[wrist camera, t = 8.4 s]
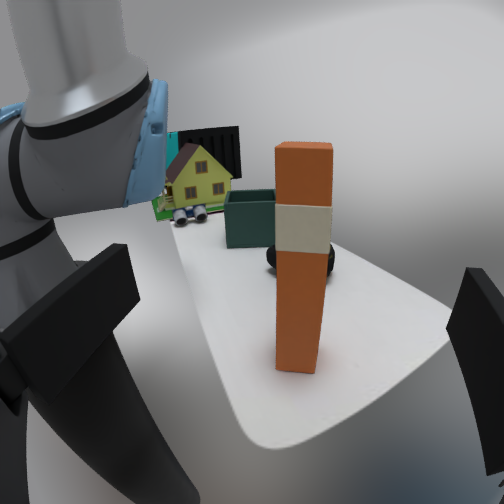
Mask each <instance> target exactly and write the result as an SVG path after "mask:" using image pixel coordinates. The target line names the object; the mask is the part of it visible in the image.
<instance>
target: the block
mask: <svg viewBox="0 0 504 504" xmlns="http://www.w3.org/2000/svg"><path fill="white" fill-rule="evenodd" d="M332 180H333V148H332V144H331V143H321V142H283V143H281V144H279V145H278V146H276V147H275V181H276V204H275V249H276V264H277V298H276V370H284V371H293V372H302V373H315V367H316V360H317V353H318V346H319V339H320V331H321V323H322V315H323V306H324V297H325V287H326V277H327V266H328V254H329V252H330V239H331V224H332Z"/></svg>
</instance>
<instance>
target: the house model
mask: <svg viewBox="0 0 504 504" xmlns="http://www.w3.org/2000/svg"><path fill="white" fill-rule="evenodd" d="M230 178H233V176H232V175H231V174H230V173H229V172H228V171H227V170H226V169H225V168H224V167H223V166H222V165H220V164H219V163H218V162H217V161H216V160H215V159H214V158H213V157H212V156H211V155H210V154H209V153H208V152H207V151H206V150H205V149H204V148H203V147H202V146H201V145H197V144H191V143H185V144H184V146H183V147H182V148H181V150H180V151H179V152H178V154H177V155H176V157H175V158H174V160H173V161H172V162H171V164H170V165H169V167H168V168H167V170H166V180H165V186H166V185H167V187H166V188H167V194H165V193H164V189H163V191H162V193H163V195H162V196H159V197H156V198H155V199H153V200H151V201H152V205H153V209H154V212H155V216H156V220H157V222H158V221H164V220H169V219H173V214H172V209H177V208H182V207H187V206H192V205H197V204H203V203H206V207H205V210H206V212H207V213H209V212H215V211H221V210H224V201H225V197H226V194H227V191H231V181H230Z"/></svg>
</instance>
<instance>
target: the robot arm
mask: <svg viewBox="0 0 504 504" xmlns="http://www.w3.org/2000/svg"><path fill="white" fill-rule="evenodd" d="M6 1H7V6H8V11H9V16H10V21H11V25H12V30H13V34H14V38H15V42H16V46H17V49H18V53H19V57H20V60H21V63H22V67H23V70H24V73H25V77H26V80H27V83H28V85H29V89H30V90H29V95H28V97H27V99H26V101H25V102H22V103H16V104H12V105H8V106H5V107H3V108H1V109H0V504H30V503H29V494H28V482H27V464H26V430H27V410H28V394H27V392H26V391H25V389H26V388H27V387H28V386H29V388H30V389H31V391H32V392H33V393H34V395H35V396H36V397H37V398H38V399H40V400H41V401H43V402H44V403H46V404H47V405H50V404H51V403H52V402H53V400H54V399H55V398H56V397H57V396H58V394H59V393H60V392H61V391H62V389H63V388H64V387H65V386H66V385H67V383H68V382H69V381H70V380H71V379H72V377H73V376H74V375H75V374H76V373H77V371H78V370H79V369H80V368H81V367H82V365H83V364H84V363H85V362H86V361H87V360H88V358H89V357H90V356H91V355H92V354H93V353H94V352H95V350H96V349H97V348H98V347H99V346H100V345H101V343H102V342H103V341H104V340H105V339H106V338H107V337H108V336H109V334H110V333H111V332H112V331H113V330H114V329H115V328H116V327H117V325H118V324H119V323H120V322H121V321H122V320H123V319H124V318H125V316H126V315H127V314H128V313H129V312H130V311H131V310H132V309H133V308H134V307H135V306H136V304H137V303H138V302H139V301H140V296H139V292H138V288H137V285H136V281H135V277H134V273H133V269H132V265H131V260H130V256H129V252H128V247H127V244H116V243H113V244H112V245H110V246H109V247H107V248H106V249H105V250H103V251H102V252H101V253H99V254H98V255H96V256H95V257H94V258H92V259H91V260H90V261H88V262H87V263H86V264H84V265H83V266H82V267H79V266H78V264H77V263H76V262H75V261H73V259H72V257H71V255H70V254H69V252H68V250H67V249H66V247H65V245H64V244H63V242H62V241H61V239H60V237H59V235H58V234H57V231H56V227H55V223H54V220H53V218H56V217H61V216H67V215H73V214H80V213H86V212H92V211H99V210H106V209H113V208H121V207H123V208H125V207H128V205H132V204H137V203H141V202H146V201H151V200H153V199H155V198H156V197H158V196H159V195H160V194H161V192H162V191H163V189H164V186H165V178H166V149H167V116H168V115H167V113H168V84H167V82H166V81H163V80H158V79H153V81H151V82H150V80H149V75H148V67H147V64H146V61H144V60H143V59H142V58H140V57H138V56H136V55H134V54H132V53H131V52H129V51H128V50H127V48H126V43H125V36H124V28H123V19H122V11H121V0H6ZM446 330H447V332H448V335H449V337H450V340H451V343H452V345H453V348H454V351H455V354H456V356H457V359H458V362H459V365H460V368H461V371H462V374H463V377H464V380H465V383H466V387H467V390H468V393H469V397H470V400H471V404H472V407H473V411H474V415H475V419H476V423H477V427H478V432H479V436H480V441H481V446H482V450H483V456H484V462H485V468H486V475H487V476H489V475H492V474H496V473H499V472H502V471H504V297H503V296H502V294H501V293H500V292H499V290H498V289H497V287H496V286H495V285H494V283H493V282H492V281H491V280H490V278H489V277H488V276H487V274H486V273H485V271H484V270H483V269H482V268H469V267H466V270H465V273H464V277H463V280H462V284H461V287H460V290H459V293H458V296H457V299H456V302H455V305H454V308H453V310H452V313H451V316H450V319H449V321H448V324H447V326H446ZM503 485H504V480H502V482H501V483H500V484H499V487H502V486H503ZM499 504H504V495H503V497H502V499H501V501H500V503H499Z"/></svg>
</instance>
